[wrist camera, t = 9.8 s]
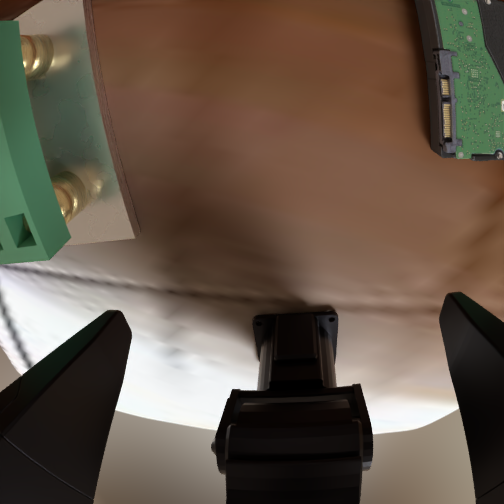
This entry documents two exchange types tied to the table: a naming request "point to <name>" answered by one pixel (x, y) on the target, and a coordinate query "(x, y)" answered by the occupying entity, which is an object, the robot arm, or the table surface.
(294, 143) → the table surface
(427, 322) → the table surface
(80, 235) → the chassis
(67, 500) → the robot arm
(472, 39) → the disk drive
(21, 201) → the board
